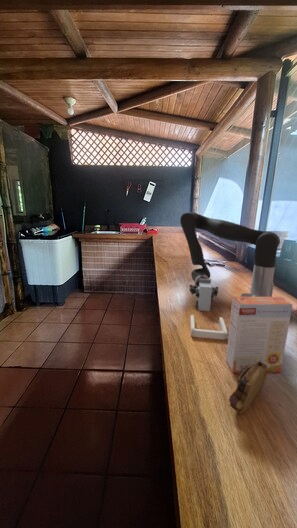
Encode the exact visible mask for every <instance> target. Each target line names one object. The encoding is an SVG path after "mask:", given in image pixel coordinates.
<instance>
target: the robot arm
mask: <svg viewBox="0 0 297 528" xmlns="http://www.w3.org/2000/svg"><path fill="white" fill-rule="evenodd" d="M179 223H180V227H181V228H182V231H183V233H184V237H185V239H186V241H187V246H188V249H189V253H190V254H189V255H190V260H191V263H192V265H194V266H201V268H196V269H192V271H191V276H190V277H191V279H192V281H193V282H194V285H192V284H189V288H188V290H189V292H190V293H191V295H195V296H196V297H197V299H198V298H199V280H200V279H211V271H210V270H209V268H208V266H207V264H206V262H205V256H204V252H203V251H204V250H203V247H202V246H201V244H200V242H199V239H198V236H197V233H196V230H197V229H198V230H202V231H204V232H205V231H206V232H208V234H209V233H210V234H211V235H213V236H215V237H217V238H220V239H223V240H227V241H232V242H240V243H246V244H251V245H253V246H254V247H255V249H254V255H253V256H254V258H253V259H254V263H253V271H252V279H251V284H250V292H249V294H253V295H255V296H256V297H273V291H274V285H275V282H274V275H275V269H276V260H277V251H278V247H279V245H280V242H281V240H280V239H281V238H280V236H278V234H276V233H275V232H272V231H263V230H258V229H254V228H251V227H247V226H245V225H242V224H239V223H235V222H231V221H228V220H222V219H218V218H212V217H211V218H210V217H207V216H204V215H202V214H199V213H196V212H194V211H192V212H191V211H187V212H184V213H183V214H181V216H180V219H179ZM218 292H219V287H218V286H215V287H213V286H212V294H211V300H212V299H214V296H215V297H216V296H218Z"/></svg>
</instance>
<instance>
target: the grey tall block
mask: <svg viewBox="0 0 297 528" xmlns="http://www.w3.org/2000/svg"><path fill="white" fill-rule="evenodd" d="M212 287H213V286H212V279H211V278H209V279H200V280H199V298H198V297H197V300H196V305H195V306H196V310H198V311H205V312H210V311H211V312H212V305H211V303H212V299H211V294H212Z"/></svg>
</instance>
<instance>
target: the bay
mask: <svg viewBox="0 0 297 528" xmlns="http://www.w3.org/2000/svg"><path fill="white" fill-rule="evenodd" d="M218 320H219V322H218V324H219V328H220V330H214V329H212V330H211V329H199V328H196V326H195V315H194V314H190V322H189V323H190V324H189V325H190V337H191V338H192V337H193V338H203V339H212V340H223V341H228V336H229V331H228V329H227V326H226V324H225V321H224V320H225V319H224V317H221V316H220V317H219V319H218Z"/></svg>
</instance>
